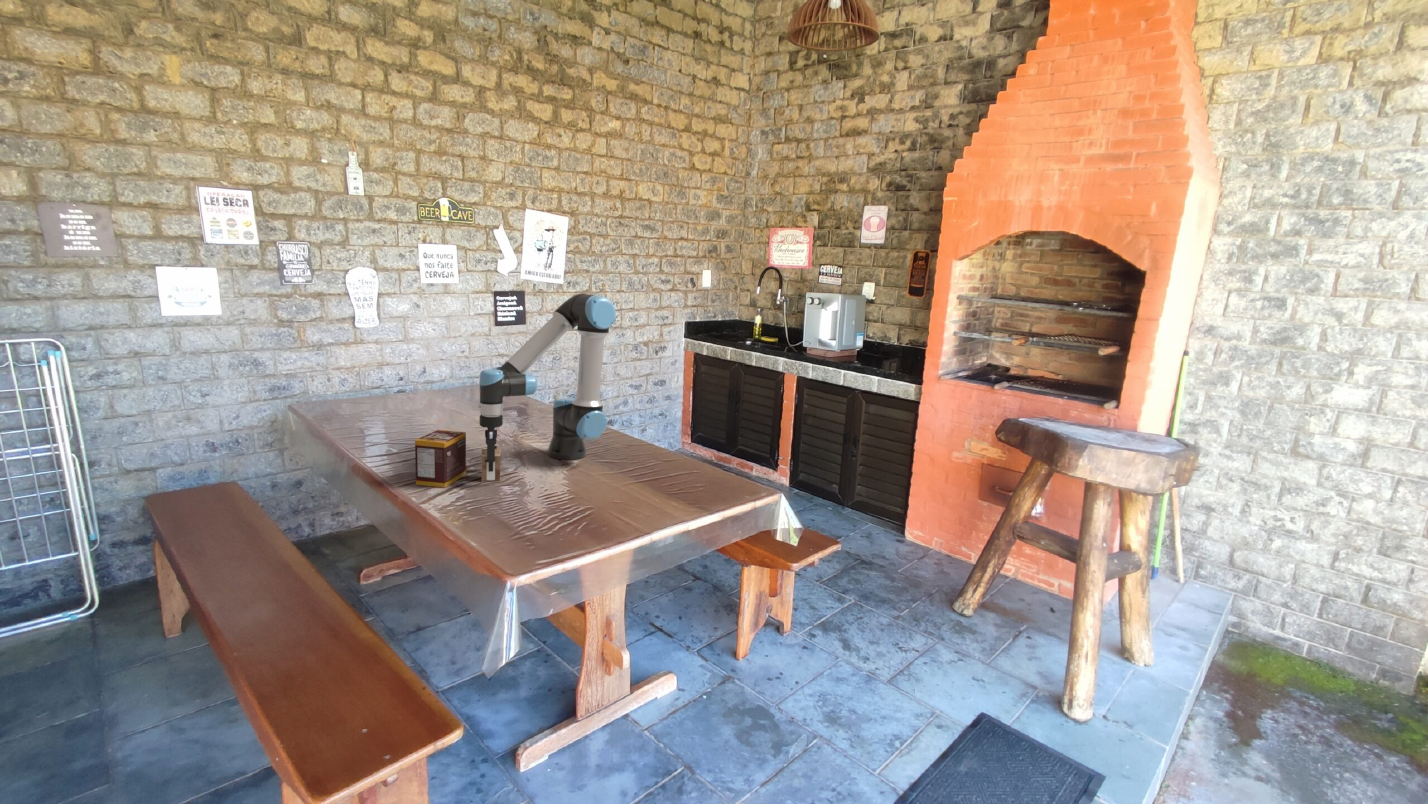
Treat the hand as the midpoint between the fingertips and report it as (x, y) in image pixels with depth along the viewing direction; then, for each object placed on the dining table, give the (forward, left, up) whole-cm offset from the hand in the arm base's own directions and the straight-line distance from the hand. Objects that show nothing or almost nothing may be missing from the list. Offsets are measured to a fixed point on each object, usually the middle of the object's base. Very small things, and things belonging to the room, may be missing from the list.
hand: (490, 473), depth 229 cm
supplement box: (+16, -1, -2) cm, 16 cm away
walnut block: (0, 0, -2) cm, 2 cm away
